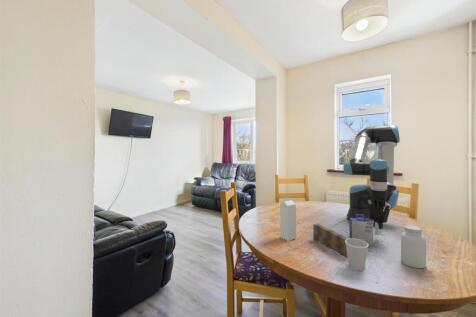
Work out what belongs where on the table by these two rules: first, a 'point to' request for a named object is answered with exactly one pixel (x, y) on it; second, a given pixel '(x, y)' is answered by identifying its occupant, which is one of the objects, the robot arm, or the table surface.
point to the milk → (288, 219)
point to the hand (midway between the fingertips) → (378, 234)
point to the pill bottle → (413, 247)
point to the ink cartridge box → (361, 229)
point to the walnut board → (330, 239)
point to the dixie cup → (356, 253)
